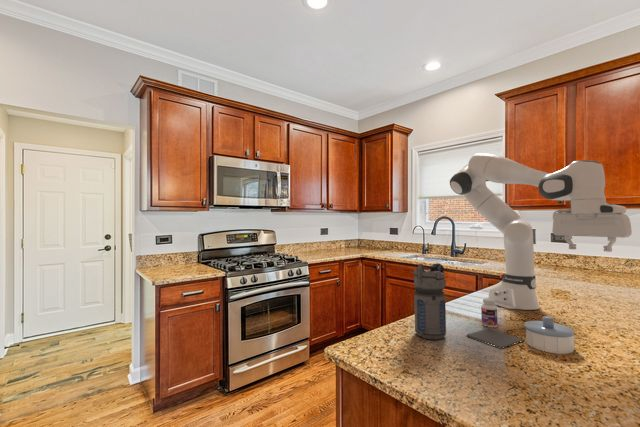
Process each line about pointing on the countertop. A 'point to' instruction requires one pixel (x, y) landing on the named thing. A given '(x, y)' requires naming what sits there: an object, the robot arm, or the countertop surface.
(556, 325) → the lid
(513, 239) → the robot arm
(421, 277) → the beverage bottle
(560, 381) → the countertop surface
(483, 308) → the pill bottle
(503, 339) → the mat
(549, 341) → the bowl
